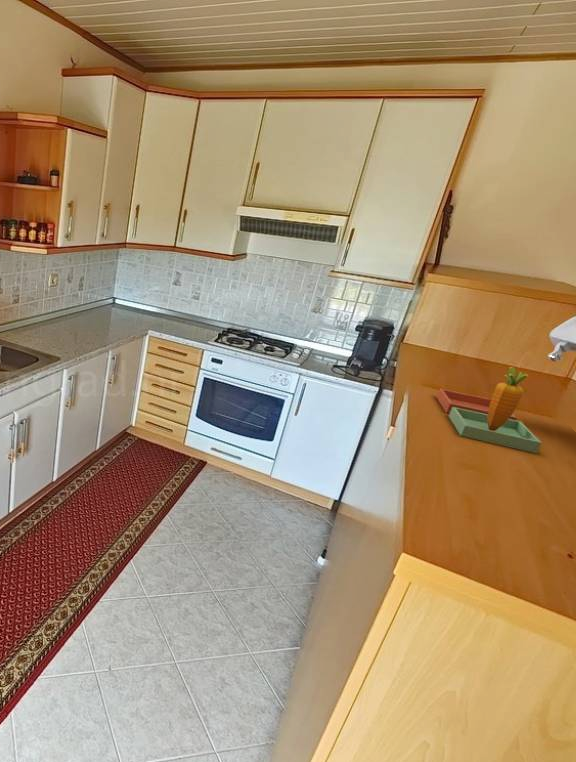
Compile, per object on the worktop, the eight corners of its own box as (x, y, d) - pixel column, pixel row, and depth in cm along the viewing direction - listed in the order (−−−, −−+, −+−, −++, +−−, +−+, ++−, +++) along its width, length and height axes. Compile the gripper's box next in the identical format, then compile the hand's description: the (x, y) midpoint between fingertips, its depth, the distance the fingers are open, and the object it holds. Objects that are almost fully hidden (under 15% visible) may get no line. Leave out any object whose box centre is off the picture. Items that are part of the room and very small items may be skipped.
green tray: (516, 431, 114) (521, 421, 113) (536, 453, 103) (542, 442, 102) (448, 416, 119) (452, 406, 118) (460, 435, 108) (465, 425, 107)
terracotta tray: (496, 410, 127) (500, 401, 126) (512, 427, 116) (517, 417, 115) (436, 397, 133) (439, 388, 132) (446, 412, 122) (450, 403, 121)
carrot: (509, 438, 108) (538, 374, 103) (482, 432, 109) (509, 369, 104) (499, 429, 112) (527, 368, 107) (473, 424, 114) (499, 363, 109)
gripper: (702, 350, 94) (632, 393, 97) (590, 325, 113) (533, 362, 116) (694, 326, 92) (622, 370, 95) (581, 304, 111) (524, 342, 114)
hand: (573, 365), depth 106 cm, fingers open, 8 cm apart
